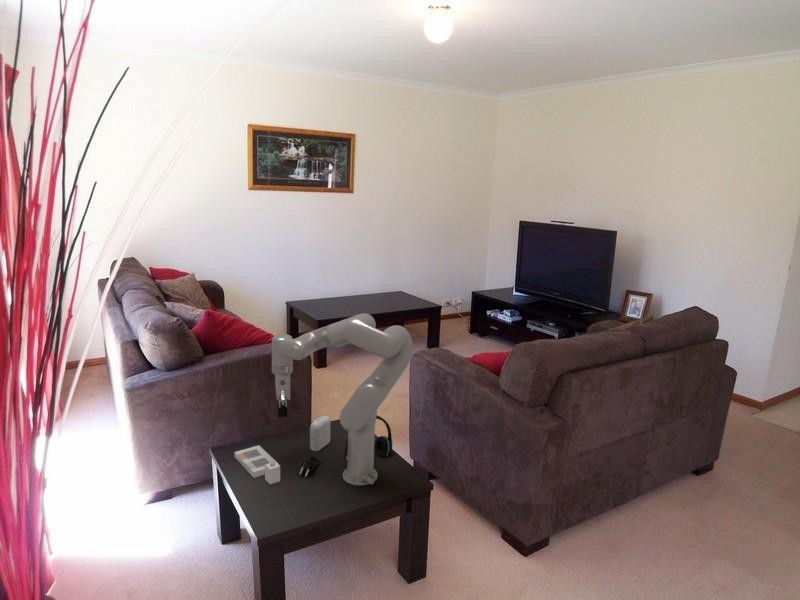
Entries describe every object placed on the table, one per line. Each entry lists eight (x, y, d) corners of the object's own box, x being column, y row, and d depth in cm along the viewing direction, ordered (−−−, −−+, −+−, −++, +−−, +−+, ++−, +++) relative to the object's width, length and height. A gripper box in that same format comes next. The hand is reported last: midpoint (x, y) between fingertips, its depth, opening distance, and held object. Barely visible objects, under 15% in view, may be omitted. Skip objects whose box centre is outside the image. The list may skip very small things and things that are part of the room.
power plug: (328, 463, 206) (313, 455, 196) (320, 482, 203) (305, 476, 194) (316, 459, 209) (300, 451, 199) (308, 478, 206) (292, 471, 196)
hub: (279, 470, 201) (279, 463, 201) (253, 478, 195) (253, 471, 194) (259, 450, 215) (259, 444, 214) (234, 457, 209) (234, 451, 208)
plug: (280, 481, 194) (280, 463, 192) (269, 484, 192) (269, 466, 190) (275, 476, 197) (275, 458, 196) (265, 479, 195) (264, 462, 193)
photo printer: (317, 452, 215) (317, 424, 213) (308, 450, 217) (308, 421, 215) (331, 442, 224) (332, 414, 222) (323, 440, 226) (323, 412, 223)
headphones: (384, 450, 220) (386, 408, 216) (394, 457, 214) (396, 414, 211) (341, 463, 208) (342, 419, 204) (350, 471, 203) (351, 426, 199)
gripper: (293, 375, 191) (293, 420, 195) (291, 359, 208) (291, 401, 211) (272, 376, 190) (272, 421, 193) (271, 360, 206) (271, 402, 210)
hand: (282, 411), depth 202 cm, fingers open, 9 cm apart
